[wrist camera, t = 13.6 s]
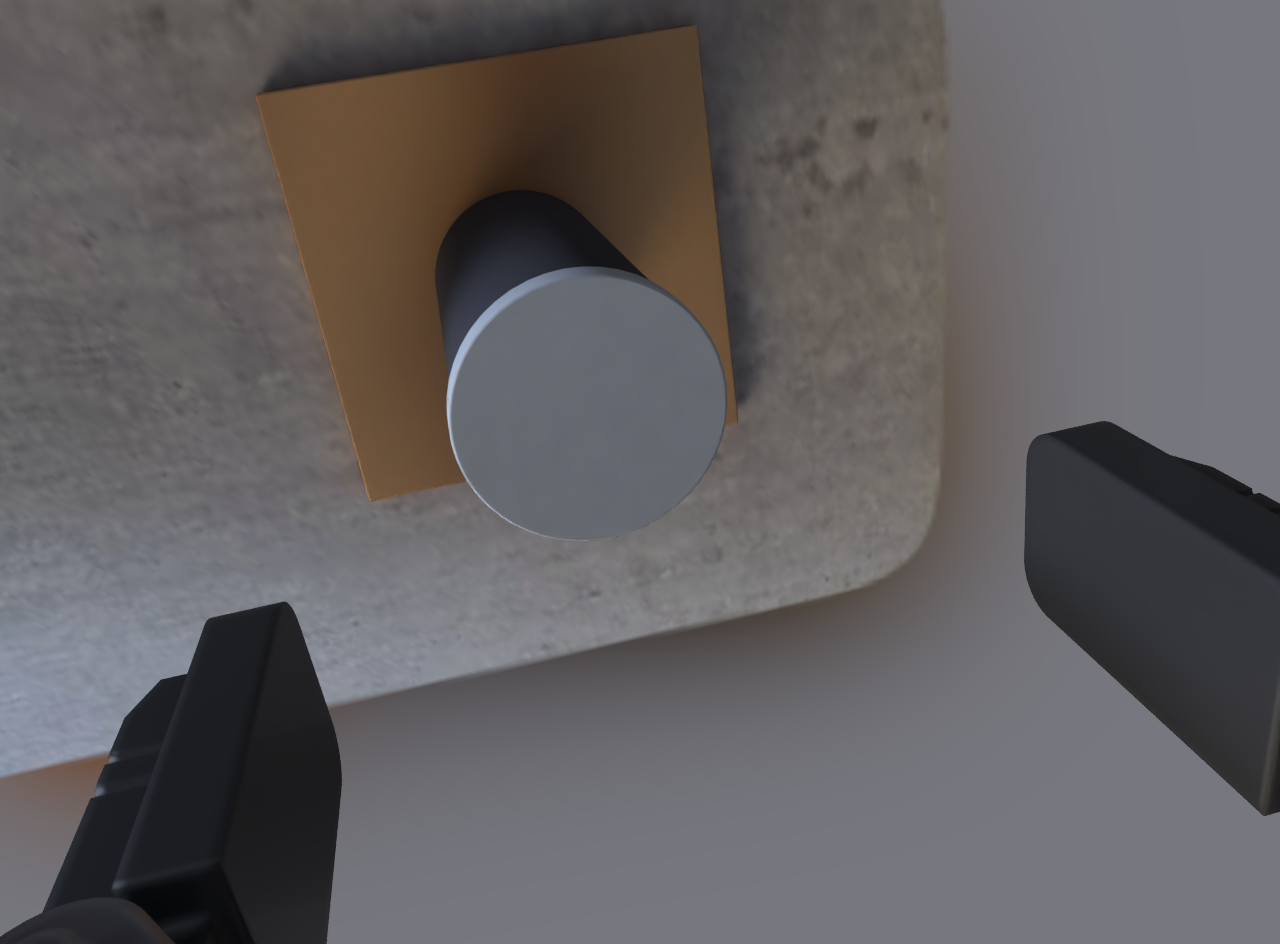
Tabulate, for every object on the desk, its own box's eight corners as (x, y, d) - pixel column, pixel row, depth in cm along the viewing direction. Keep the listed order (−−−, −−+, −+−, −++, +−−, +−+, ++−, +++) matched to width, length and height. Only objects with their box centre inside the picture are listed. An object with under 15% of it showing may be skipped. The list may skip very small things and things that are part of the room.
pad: (692, 24, 24) (697, 24, 23) (733, 417, 28) (739, 423, 27) (257, 93, 22) (254, 94, 22) (370, 495, 26) (369, 503, 26)
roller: (596, 170, 24) (713, 249, 15) (622, 346, 26) (741, 510, 17) (411, 203, 23) (418, 304, 14) (452, 380, 25) (479, 568, 16)
